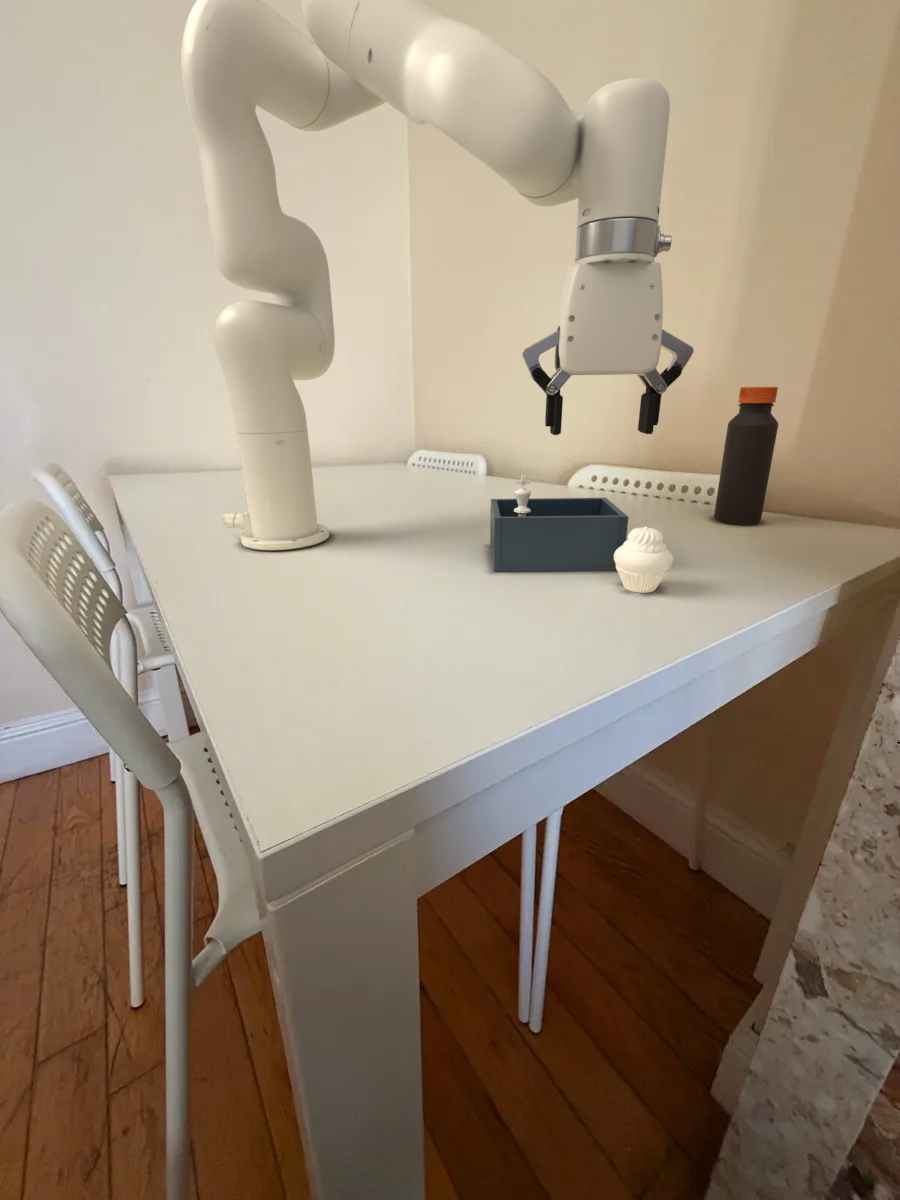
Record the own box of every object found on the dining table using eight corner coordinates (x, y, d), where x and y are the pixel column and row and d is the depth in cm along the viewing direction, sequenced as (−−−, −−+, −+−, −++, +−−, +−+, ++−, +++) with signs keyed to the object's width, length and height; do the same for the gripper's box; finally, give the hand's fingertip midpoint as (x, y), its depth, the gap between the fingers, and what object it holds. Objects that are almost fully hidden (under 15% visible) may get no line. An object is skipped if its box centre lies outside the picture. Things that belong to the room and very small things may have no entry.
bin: (493, 571, 69) (494, 518, 67) (490, 545, 80) (490, 498, 77) (623, 570, 68) (628, 516, 66) (602, 544, 79) (606, 497, 77)
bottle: (707, 515, 94) (726, 387, 87) (750, 516, 94) (773, 386, 86) (721, 525, 88) (743, 387, 81) (767, 526, 87) (794, 387, 80)
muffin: (668, 601, 59) (676, 535, 56) (607, 594, 61) (613, 530, 59) (670, 582, 64) (678, 521, 62) (614, 576, 66) (619, 517, 64)
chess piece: (542, 558, 72) (546, 478, 68) (503, 558, 72) (504, 478, 68) (537, 547, 76) (540, 472, 73) (500, 548, 76) (501, 472, 73)
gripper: (690, 256, 58) (669, 429, 65) (521, 259, 59) (516, 431, 65) (721, 239, 51) (694, 436, 58) (529, 243, 52) (523, 437, 58)
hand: (599, 433), depth 61 cm, fingers open, 9 cm apart
